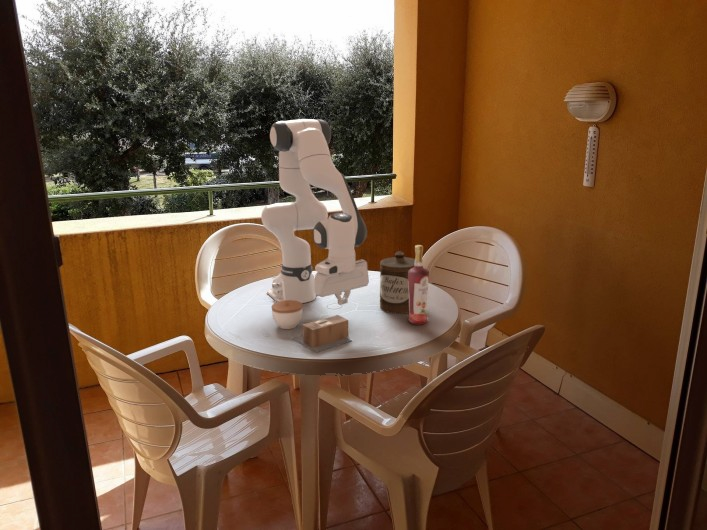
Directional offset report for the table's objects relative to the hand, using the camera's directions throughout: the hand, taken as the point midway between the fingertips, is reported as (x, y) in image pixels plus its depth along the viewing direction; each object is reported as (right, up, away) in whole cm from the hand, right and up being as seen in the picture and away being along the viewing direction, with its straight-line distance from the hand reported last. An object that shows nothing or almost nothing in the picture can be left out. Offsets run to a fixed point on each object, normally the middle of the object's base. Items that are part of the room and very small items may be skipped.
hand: (342, 303), depth 185 cm
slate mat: (-7, -12, -1) cm, 14 cm away
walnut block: (0, -8, +2) cm, 8 cm away
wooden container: (+21, -4, +29) cm, 36 cm away
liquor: (+26, -8, +13) cm, 30 cm away
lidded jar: (-20, -9, +12) cm, 24 cm away
